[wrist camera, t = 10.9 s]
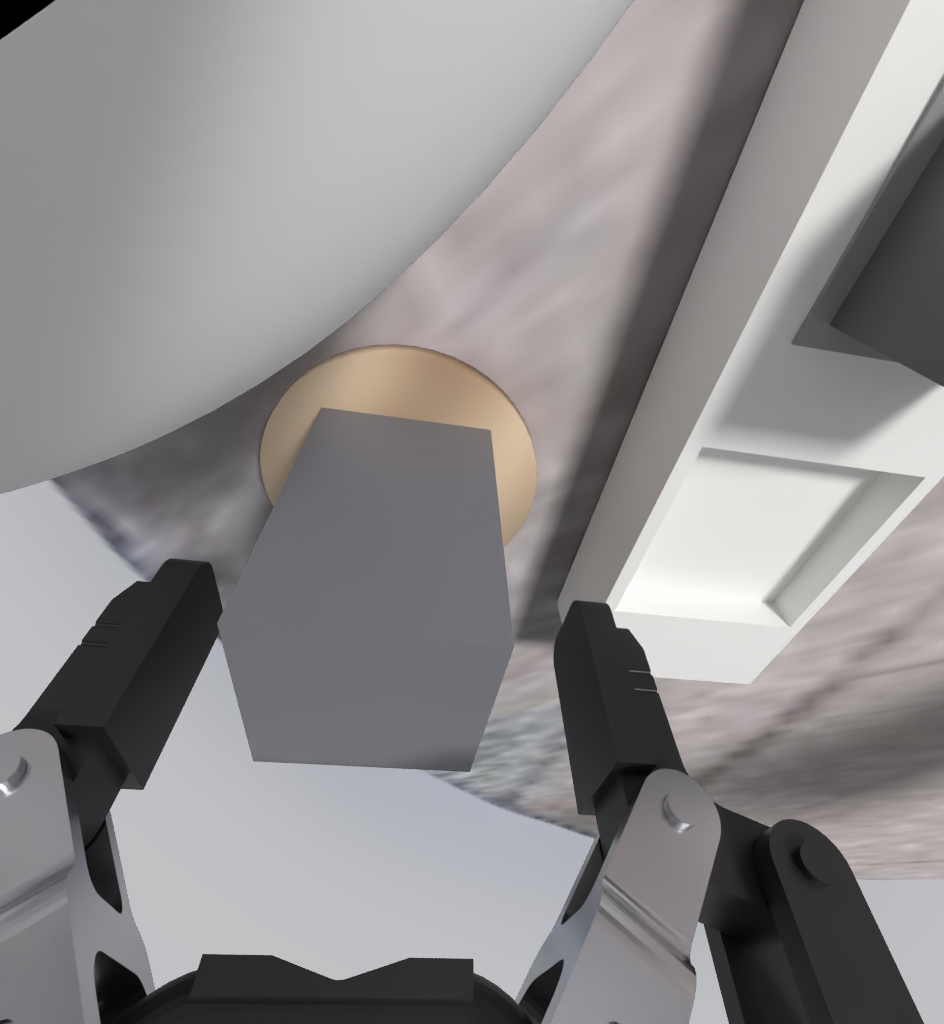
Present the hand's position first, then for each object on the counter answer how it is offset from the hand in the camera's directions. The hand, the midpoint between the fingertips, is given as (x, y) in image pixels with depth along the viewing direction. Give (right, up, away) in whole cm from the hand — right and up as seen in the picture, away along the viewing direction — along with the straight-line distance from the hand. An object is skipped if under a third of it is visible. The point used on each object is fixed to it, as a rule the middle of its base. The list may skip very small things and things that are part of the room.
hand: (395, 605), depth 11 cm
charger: (0, +3, +3) cm, 4 cm away
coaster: (0, +3, +4) cm, 5 cm away
